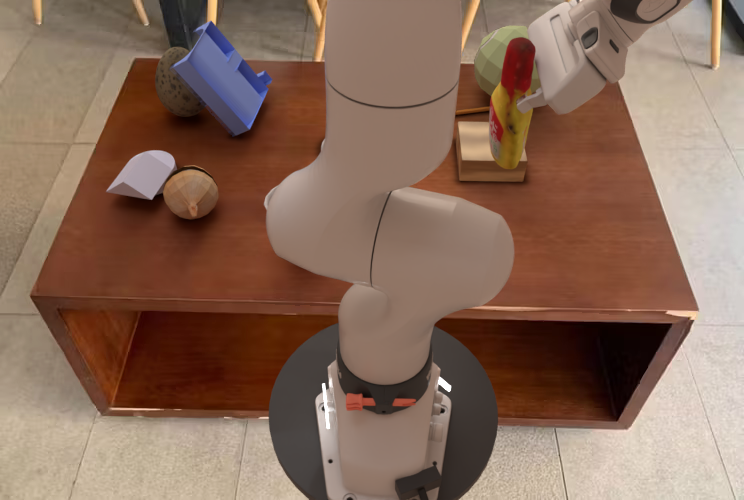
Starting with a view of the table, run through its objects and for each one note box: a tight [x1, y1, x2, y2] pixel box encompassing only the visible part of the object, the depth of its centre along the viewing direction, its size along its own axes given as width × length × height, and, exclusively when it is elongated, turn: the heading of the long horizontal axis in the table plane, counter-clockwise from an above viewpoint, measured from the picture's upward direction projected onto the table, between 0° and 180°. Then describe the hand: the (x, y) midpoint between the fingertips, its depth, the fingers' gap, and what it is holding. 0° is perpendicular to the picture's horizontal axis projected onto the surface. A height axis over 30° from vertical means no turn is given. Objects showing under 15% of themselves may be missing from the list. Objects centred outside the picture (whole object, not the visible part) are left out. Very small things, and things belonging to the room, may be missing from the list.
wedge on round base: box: [105, 149, 178, 201], centre depth 124 cm, size 9×7×13 cm
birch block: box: [455, 121, 528, 183], centre depth 130 cm, size 12×12×5 cm
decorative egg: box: [154, 46, 208, 118], centre depth 137 cm, size 11×11×15 cm
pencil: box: [455, 105, 490, 116], centre depth 142 cm, size 1×1×19 cm
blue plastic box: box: [171, 20, 273, 137], centre depth 136 cm, size 18×16×7 cm
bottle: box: [488, 37, 536, 169], centre depth 101 cm, size 12×6×20 cm, turn 172°
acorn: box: [161, 164, 220, 220], centre depth 118 cm, size 9×9×15 cm
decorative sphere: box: [473, 24, 541, 97], centre depth 141 cm, size 15×15×15 cm
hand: (514, 89), depth 100 cm, fingers closed on bottle, 8 cm apart
